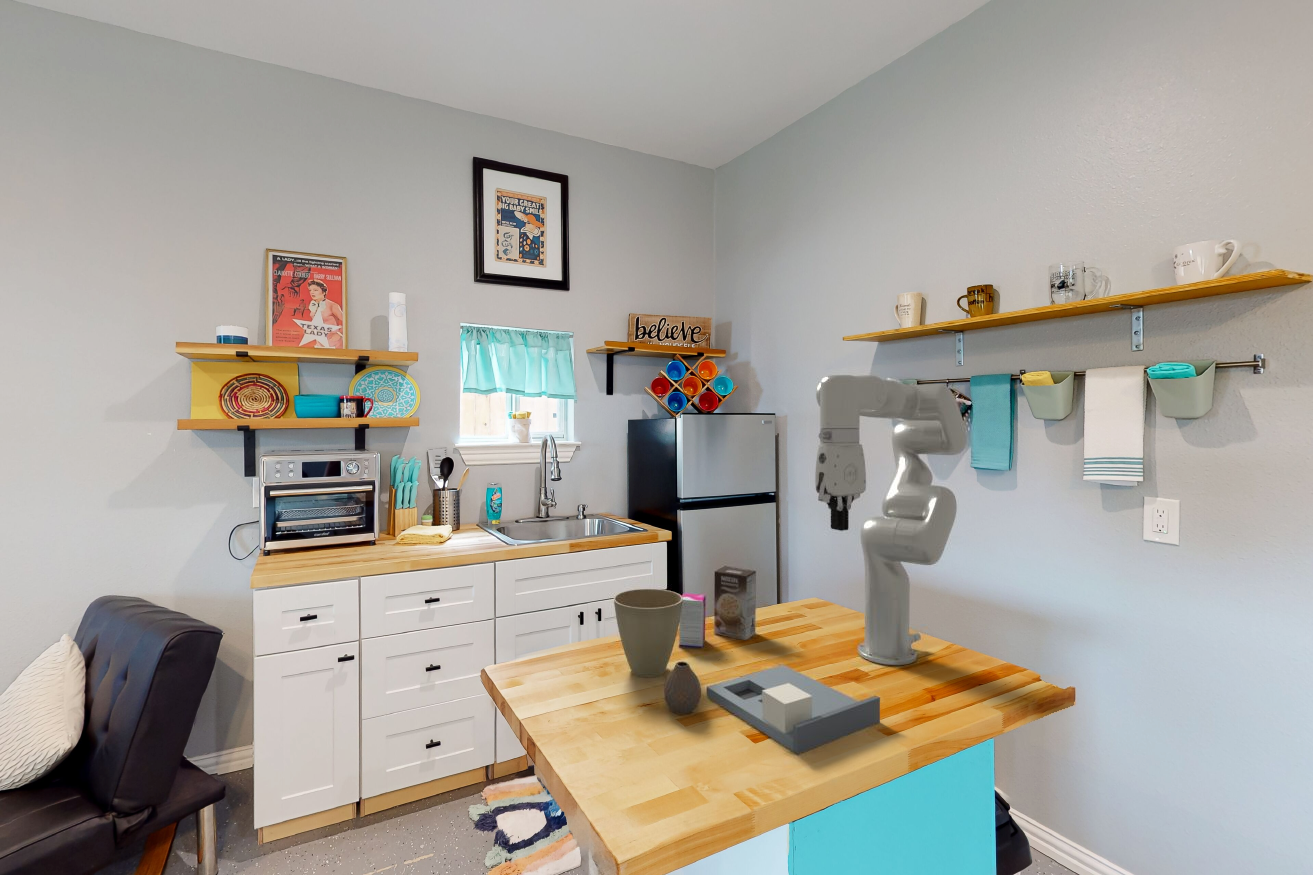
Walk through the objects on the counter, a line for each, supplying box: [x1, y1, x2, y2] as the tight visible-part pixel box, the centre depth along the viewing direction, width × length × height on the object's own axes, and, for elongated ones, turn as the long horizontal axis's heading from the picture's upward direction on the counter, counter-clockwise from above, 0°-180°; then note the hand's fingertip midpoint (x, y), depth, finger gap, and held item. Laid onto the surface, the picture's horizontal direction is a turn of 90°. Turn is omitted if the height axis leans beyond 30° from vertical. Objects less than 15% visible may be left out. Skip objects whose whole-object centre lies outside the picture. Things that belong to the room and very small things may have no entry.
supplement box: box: [678, 593, 707, 649], centre depth 152 cm, size 6×6×12 cm
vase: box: [663, 661, 702, 716], centre depth 118 cm, size 7×7×9 cm
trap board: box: [706, 664, 881, 755], centre depth 118 cm, size 20×25×4 cm
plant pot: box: [613, 588, 683, 678], centre depth 137 cm, size 15×15×16 cm
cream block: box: [762, 683, 812, 733], centre depth 109 cm, size 6×6×5 cm
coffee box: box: [713, 565, 757, 641], centre depth 159 cm, size 9×6×16 cm
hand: (839, 529), depth 126 cm, fingers closed
